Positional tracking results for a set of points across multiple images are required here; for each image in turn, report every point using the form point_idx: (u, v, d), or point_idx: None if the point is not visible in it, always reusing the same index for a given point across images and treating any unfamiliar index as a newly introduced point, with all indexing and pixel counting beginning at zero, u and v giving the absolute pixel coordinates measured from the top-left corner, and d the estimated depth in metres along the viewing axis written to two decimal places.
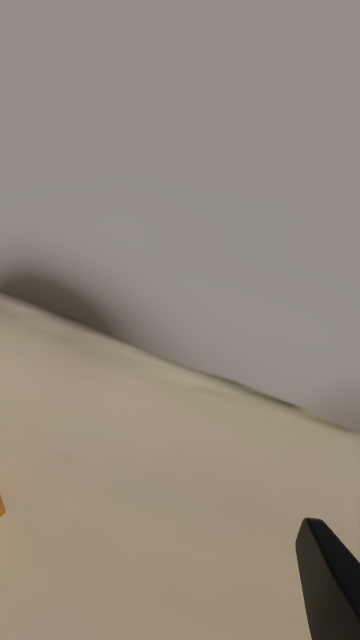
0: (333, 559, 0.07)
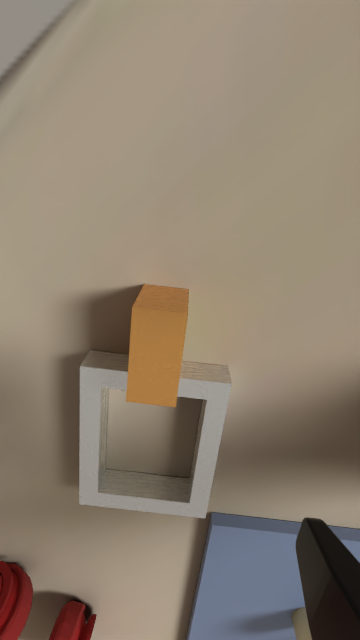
0: (333, 559, 0.07)
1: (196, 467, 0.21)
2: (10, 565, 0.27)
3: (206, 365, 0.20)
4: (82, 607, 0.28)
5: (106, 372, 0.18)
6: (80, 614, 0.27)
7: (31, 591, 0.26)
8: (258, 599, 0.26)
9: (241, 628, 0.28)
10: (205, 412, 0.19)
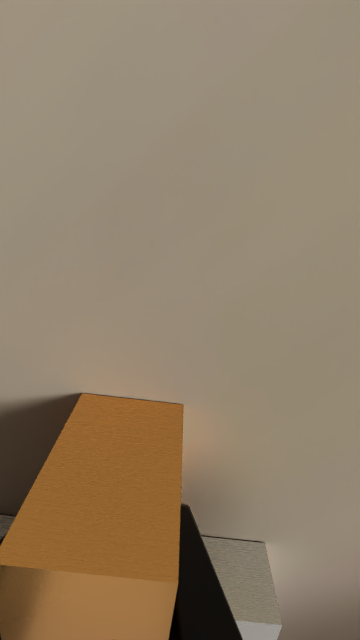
0: None
1: None
2: None
3: (220, 545, 0.10)
4: None
5: None
6: None
7: None
8: None
9: None
10: None
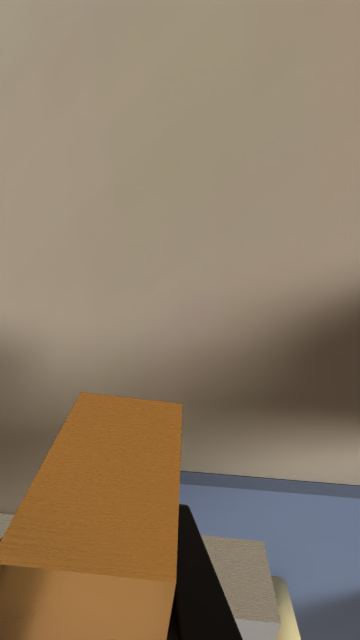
0: (178, 542, 0.07)
1: None
2: None
3: (220, 544, 0.10)
4: None
5: None
6: None
7: None
8: None
9: None
10: None
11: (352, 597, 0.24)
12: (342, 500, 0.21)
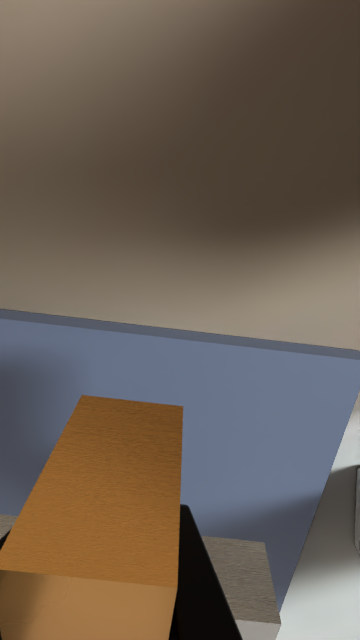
0: None
1: None
2: None
3: (220, 545, 0.10)
4: None
5: None
6: None
7: None
8: None
9: None
10: None
11: (255, 517, 0.17)
12: (222, 350, 0.14)
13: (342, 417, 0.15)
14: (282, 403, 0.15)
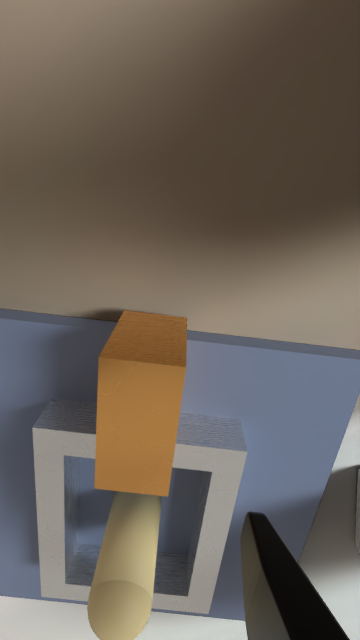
0: (266, 552, 0.07)
1: (197, 554, 0.15)
2: None
3: (211, 418, 0.15)
4: None
5: (70, 435, 0.13)
6: None
7: None
8: None
9: None
10: (210, 487, 0.14)
11: None
12: (223, 350, 0.14)
13: (342, 417, 0.15)
14: (283, 403, 0.15)
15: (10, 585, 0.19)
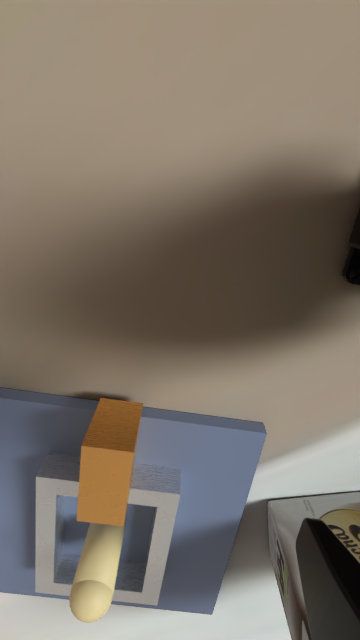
0: (333, 559, 0.07)
1: (148, 562, 0.22)
2: None
3: (159, 468, 0.21)
4: None
5: (61, 482, 0.19)
6: None
7: None
8: None
9: None
10: (156, 517, 0.20)
11: (194, 536, 0.24)
12: (167, 424, 0.20)
13: (250, 468, 0.21)
14: (209, 458, 0.21)
15: (10, 584, 0.26)
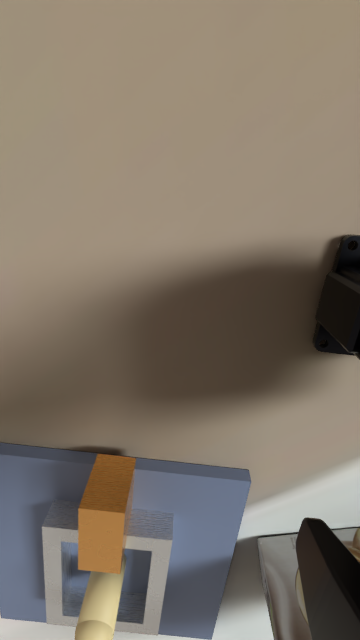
0: (333, 559, 0.07)
1: (147, 598, 0.24)
2: None
3: (154, 513, 0.23)
4: None
5: (64, 531, 0.21)
6: None
7: None
8: None
9: None
10: (151, 559, 0.22)
11: (190, 570, 0.25)
12: (159, 474, 0.22)
13: (238, 512, 0.23)
14: (200, 504, 0.23)
15: (25, 612, 0.28)
